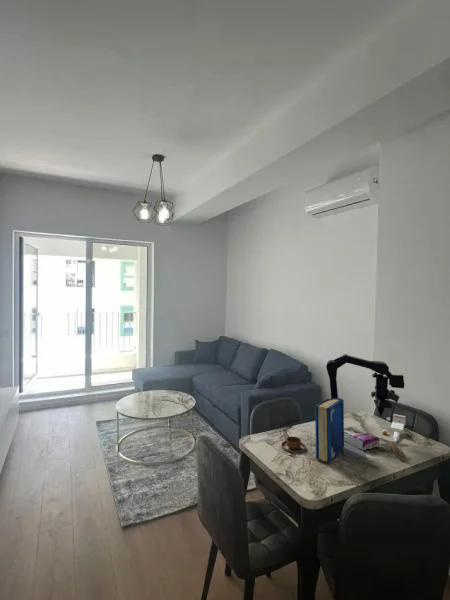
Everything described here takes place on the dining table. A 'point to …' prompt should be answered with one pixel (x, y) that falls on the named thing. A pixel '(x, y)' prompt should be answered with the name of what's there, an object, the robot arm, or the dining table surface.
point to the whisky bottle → (396, 426)
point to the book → (329, 428)
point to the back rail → (398, 452)
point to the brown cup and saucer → (293, 445)
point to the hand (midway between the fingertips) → (380, 415)
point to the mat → (353, 451)
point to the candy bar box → (360, 438)
